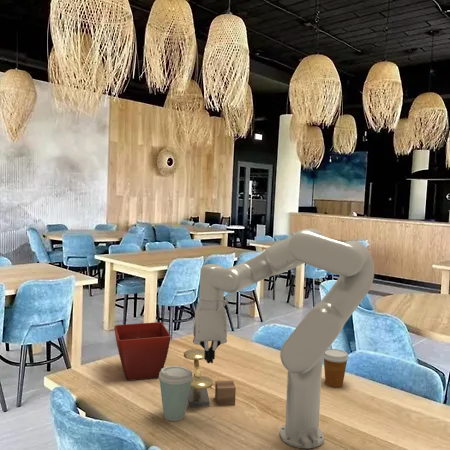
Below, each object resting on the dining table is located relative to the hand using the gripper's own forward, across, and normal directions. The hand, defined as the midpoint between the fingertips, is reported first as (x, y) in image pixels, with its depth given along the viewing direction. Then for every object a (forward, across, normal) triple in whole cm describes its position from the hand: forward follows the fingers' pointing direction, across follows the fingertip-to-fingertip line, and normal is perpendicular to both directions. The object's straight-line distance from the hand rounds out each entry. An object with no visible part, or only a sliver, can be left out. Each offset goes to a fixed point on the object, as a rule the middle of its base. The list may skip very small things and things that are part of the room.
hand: (209, 361), depth 139 cm
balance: (+17, +1, -14) cm, 22 cm away
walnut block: (+17, -7, -7) cm, 20 cm away
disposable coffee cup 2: (+17, -51, -15) cm, 56 cm away
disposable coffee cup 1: (+17, +10, 0) cm, 20 cm away
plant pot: (+17, +19, -36) cm, 44 cm away
